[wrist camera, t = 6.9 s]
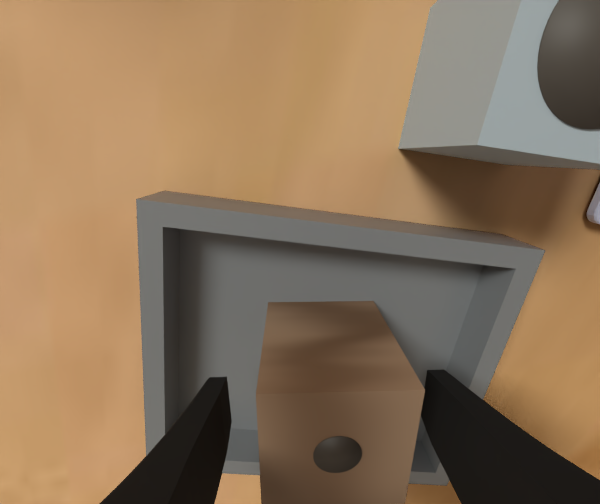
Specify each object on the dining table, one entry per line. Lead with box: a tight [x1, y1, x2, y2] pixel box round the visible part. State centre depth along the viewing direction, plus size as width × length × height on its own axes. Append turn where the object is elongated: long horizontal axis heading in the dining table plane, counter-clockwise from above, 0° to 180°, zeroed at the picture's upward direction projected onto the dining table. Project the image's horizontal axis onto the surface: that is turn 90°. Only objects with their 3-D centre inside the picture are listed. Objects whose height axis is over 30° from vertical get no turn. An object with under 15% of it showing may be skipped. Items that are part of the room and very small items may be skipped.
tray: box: [136, 191, 545, 486], centre depth 13 cm, size 14×12×2 cm
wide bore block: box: [398, 0, 600, 170], centre depth 8 cm, size 4×4×5 cm
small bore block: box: [256, 301, 425, 504], centre depth 11 cm, size 4×4×5 cm
